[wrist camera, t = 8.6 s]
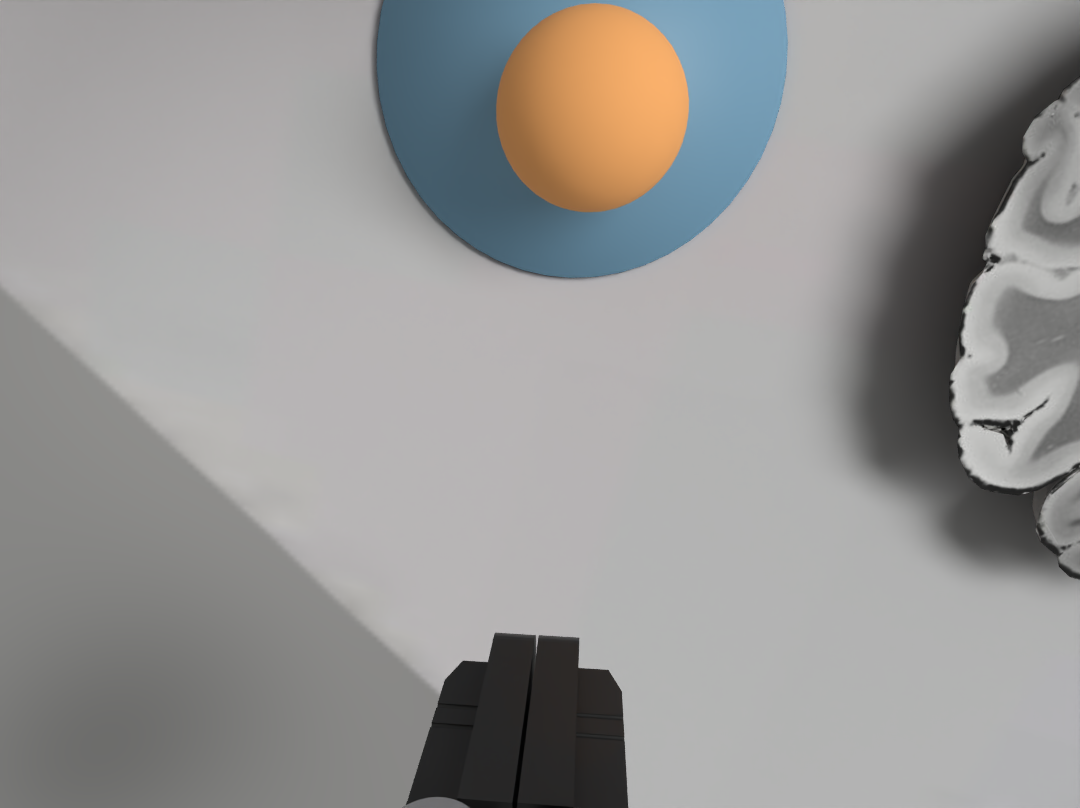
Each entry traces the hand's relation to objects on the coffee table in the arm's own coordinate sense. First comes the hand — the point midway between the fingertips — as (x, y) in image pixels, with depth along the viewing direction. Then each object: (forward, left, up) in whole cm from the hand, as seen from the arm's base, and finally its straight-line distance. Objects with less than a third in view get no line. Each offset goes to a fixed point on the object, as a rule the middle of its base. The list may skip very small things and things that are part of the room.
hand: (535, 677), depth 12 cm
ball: (-10, 0, -11) cm, 15 cm away
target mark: (-12, 0, -14) cm, 18 cm away
